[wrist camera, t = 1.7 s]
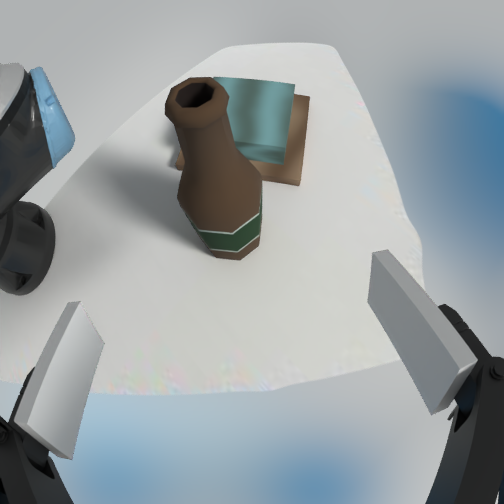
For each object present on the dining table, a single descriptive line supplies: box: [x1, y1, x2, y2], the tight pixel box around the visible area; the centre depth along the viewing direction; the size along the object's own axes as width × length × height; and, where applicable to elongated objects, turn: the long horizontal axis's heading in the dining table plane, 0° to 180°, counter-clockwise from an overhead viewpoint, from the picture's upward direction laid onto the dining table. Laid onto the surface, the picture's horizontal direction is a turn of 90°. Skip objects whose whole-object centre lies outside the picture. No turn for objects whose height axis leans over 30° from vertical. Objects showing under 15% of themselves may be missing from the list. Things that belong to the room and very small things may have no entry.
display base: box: [176, 77, 310, 186], centre depth 39 cm, size 17×16×6 cm
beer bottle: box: [165, 77, 262, 260], centre depth 26 cm, size 8×8×24 cm
